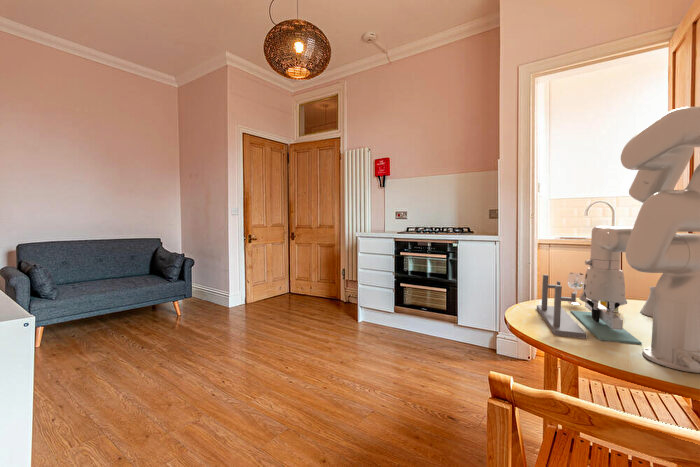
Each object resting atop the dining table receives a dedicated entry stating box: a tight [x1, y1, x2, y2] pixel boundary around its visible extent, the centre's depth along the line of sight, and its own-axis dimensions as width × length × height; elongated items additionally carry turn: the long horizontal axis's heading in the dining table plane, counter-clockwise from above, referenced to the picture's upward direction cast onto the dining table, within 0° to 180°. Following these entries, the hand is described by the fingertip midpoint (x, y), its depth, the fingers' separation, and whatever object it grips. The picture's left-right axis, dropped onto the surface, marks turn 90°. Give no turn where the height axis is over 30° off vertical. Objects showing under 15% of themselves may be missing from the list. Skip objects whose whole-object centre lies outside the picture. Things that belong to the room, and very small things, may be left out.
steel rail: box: [584, 297, 624, 330], centre depth 107 cm, size 24×2×3 cm, turn 160°
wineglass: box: [567, 272, 585, 306], centre depth 133 cm, size 6×6×12 cm
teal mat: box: [570, 310, 643, 345], centre depth 107 cm, size 28×10×1 cm, turn 160°
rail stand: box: [536, 274, 587, 339], centre depth 111 cm, size 28×8×14 cm, turn 160°
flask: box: [640, 286, 656, 318], centre depth 118 cm, size 7×7×10 cm
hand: (601, 321), depth 107 cm, fingers closed on steel rail, 2 cm apart
